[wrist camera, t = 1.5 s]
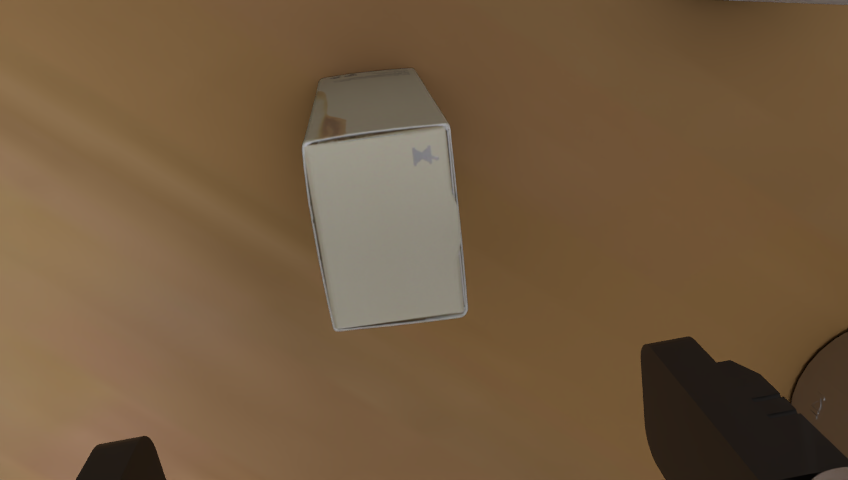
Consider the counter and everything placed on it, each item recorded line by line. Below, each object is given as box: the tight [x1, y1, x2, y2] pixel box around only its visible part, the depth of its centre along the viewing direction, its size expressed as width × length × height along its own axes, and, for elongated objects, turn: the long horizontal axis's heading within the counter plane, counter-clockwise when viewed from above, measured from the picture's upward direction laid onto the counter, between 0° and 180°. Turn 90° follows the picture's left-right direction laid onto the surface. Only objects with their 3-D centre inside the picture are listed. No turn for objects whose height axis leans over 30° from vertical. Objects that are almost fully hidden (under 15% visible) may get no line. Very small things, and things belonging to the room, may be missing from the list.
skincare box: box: [302, 68, 468, 331], centre depth 27 cm, size 6×4×12 cm
